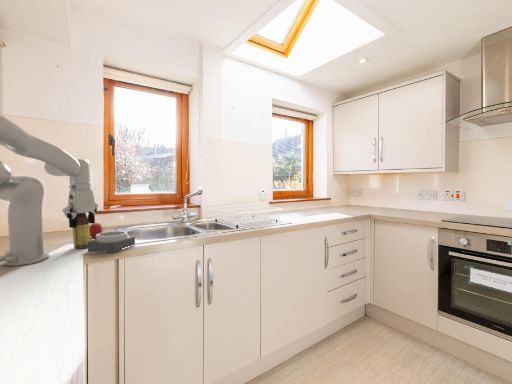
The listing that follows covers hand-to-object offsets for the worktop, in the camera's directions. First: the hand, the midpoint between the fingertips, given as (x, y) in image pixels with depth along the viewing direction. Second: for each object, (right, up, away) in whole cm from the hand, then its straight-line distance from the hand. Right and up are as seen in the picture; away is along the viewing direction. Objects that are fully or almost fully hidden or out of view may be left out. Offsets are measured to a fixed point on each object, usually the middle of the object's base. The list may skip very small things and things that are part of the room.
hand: (82, 225), depth 116 cm
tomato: (-6, -9, +19) cm, 22 cm away
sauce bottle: (0, -10, 0) cm, 10 cm away
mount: (+14, -10, -1) cm, 17 cm away
